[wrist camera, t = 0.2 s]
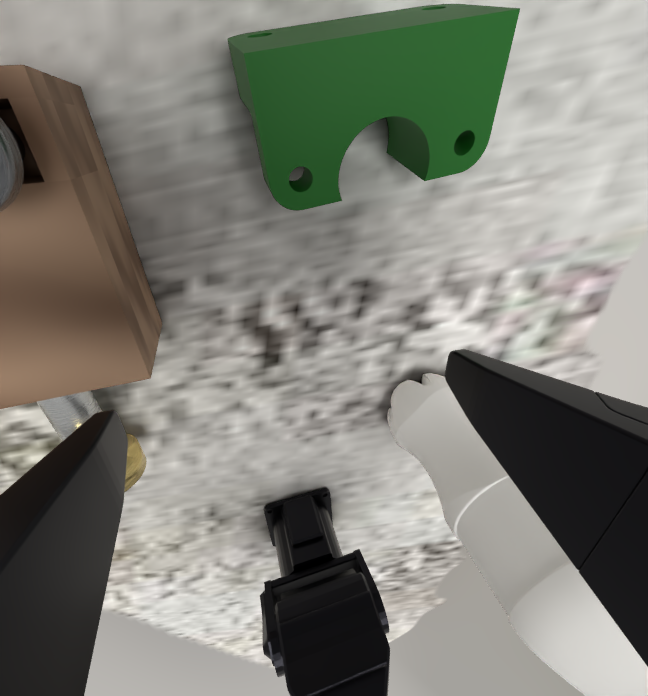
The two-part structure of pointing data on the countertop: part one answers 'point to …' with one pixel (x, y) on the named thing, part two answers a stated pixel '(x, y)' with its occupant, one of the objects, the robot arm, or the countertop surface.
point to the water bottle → (514, 546)
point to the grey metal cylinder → (10, 165)
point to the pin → (76, 411)
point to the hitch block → (66, 255)
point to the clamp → (373, 92)
